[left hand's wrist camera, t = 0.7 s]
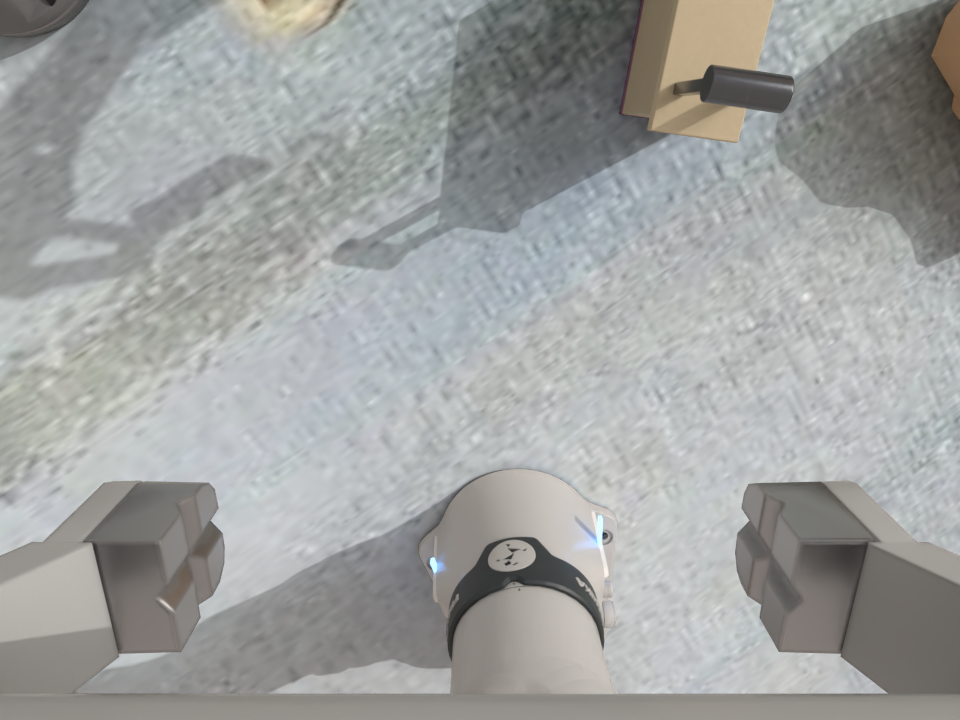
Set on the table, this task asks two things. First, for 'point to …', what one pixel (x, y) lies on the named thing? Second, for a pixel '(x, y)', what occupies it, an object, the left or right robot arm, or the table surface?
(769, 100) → the lid
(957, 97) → the squash
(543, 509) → the left robot arm
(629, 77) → the chest
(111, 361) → the table surface
